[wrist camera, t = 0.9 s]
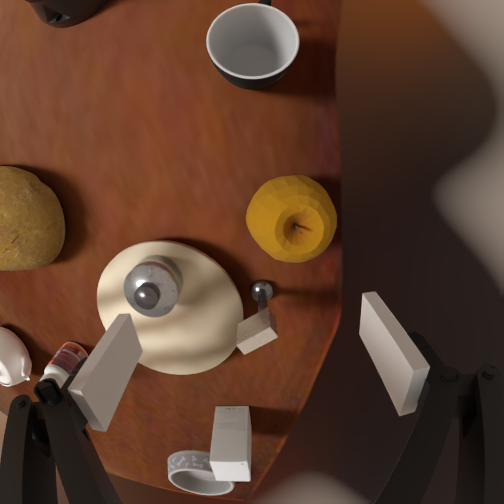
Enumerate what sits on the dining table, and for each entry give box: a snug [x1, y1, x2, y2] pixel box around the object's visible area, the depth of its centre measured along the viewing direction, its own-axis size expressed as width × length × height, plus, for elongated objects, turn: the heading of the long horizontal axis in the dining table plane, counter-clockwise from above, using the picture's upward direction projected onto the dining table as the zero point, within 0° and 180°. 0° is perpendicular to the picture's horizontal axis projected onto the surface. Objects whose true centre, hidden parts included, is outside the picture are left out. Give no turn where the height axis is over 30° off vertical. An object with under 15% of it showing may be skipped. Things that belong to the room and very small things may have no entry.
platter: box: [97, 240, 243, 375], centre depth 40 cm, size 22×23×4 cm
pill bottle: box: [40, 342, 89, 389], centre depth 42 cm, size 6×6×11 cm
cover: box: [123, 255, 183, 318], centre depth 36 cm, size 7×7×6 cm
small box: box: [209, 406, 251, 481], centre depth 46 cm, size 8×6×13 cm
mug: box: [206, 0, 299, 90], centre depth 27 cm, size 12×9×10 cm
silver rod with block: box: [236, 280, 278, 355], centre depth 37 cm, size 3×5×12 cm, turn 124°
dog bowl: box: [168, 451, 236, 495], centre depth 57 cm, size 17×18×5 cm
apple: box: [246, 175, 337, 263], centre depth 33 cm, size 10×10×12 cm
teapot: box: [0, 327, 32, 386], centre depth 43 cm, size 22×14×11 cm, turn 92°
